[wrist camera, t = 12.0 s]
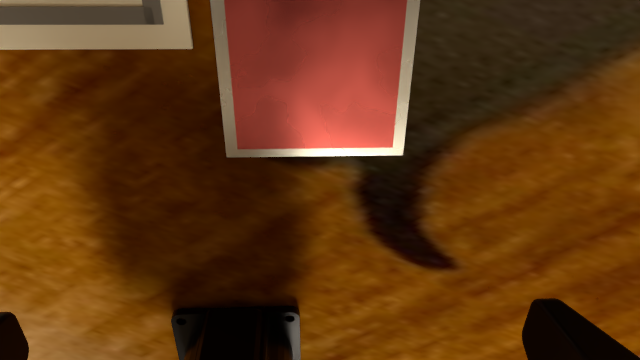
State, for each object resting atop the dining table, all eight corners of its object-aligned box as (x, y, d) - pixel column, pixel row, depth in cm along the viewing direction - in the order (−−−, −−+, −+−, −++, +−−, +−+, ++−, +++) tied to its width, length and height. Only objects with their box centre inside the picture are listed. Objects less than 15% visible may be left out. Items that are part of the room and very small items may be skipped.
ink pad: (397, 141, 20) (404, 158, 19) (230, 143, 20) (225, 160, 19) (423, -108, 16) (434, -108, 14) (205, -110, 15) (197, -110, 14)
